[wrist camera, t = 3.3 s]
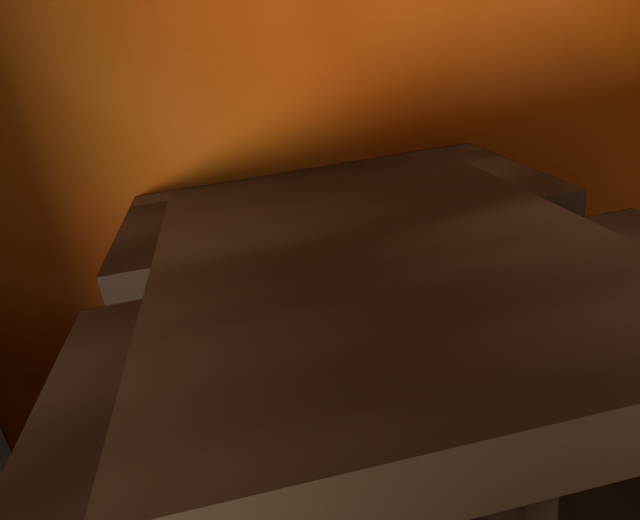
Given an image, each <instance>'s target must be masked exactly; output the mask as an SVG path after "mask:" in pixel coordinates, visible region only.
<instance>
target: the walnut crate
mask: <svg viewBox="0 0 640 520" xmlns="http://www.w3.org/2000/svg"><path fill="white" fill-rule="evenodd" d="M585 198H586V190H585V189H582V188H580V187H577V186H575V185H572V184H570V183H567V182H565V181H562V180H560V179H557V178H555V177H552V176H550V175H547V174H545V173H542V172H540V171H537V170H535V169H532V168H530V167H527V166H525V165H522V164H519V163H517V162H514V161H512V160H509V159H507V158H504V157H502V156H499V155H497V154H494V153H492V152H489V151H487V150H484V149H482V148H479V147H477V146H474V145H472V144H469V143H465V144H458V145H452V146H446V147H440V148H434V149H427V150H421V151H415V152H409V153H403V154H396V155H390V156H384V157H378V158H372V159H365V160H359V161H353V162H347V163H341V164H334V165H328V166H322V167H316V168H310V169H303V170H297V171H291V172H285V173H279V174H272V175H266V176H260V177H254V178H248V179H242V180H235V181H229V182H223V183H217V184H211V185H204V186H198V187H192V188H186V189H180V190H173V191H167V192H161V193H155V194H149V195H142V196H136V197H135V198H134V200H133V202H132V204H131V206H130V208H129V210H128V212H127V215H126V217H125V219H124V221H123V223H122V225H121V227H120V229H119V231H118V233H117V235H116V237H115V239H114V241H113V243H112V246H111V248H110V250H109V252H108V254H107V256H106V258H105V260H104V262H103V264H102V266H101V268H100V270H99V272H98V275H97V277H96V279H97V282H98V285H99V289H100V292H101V295H102V298H103V301H104V304H105V306H102V307H96V308H91V309H86V310H80V312H79V314H78V316H77V318H76V320H75V322H74V324H73V326H72V328H71V330H70V333H69V335H68V337H67V339H66V341H65V343H64V345H63V347H62V349H61V351H60V353H59V355H58V357H57V359H56V362H55V364H54V366H53V368H52V370H51V372H50V374H49V376H48V378H47V380H46V382H45V384H44V386H43V388H42V391H41V393H40V395H39V397H38V399H37V401H36V403H35V405H34V407H33V409H32V411H31V413H30V415H29V417H28V419H27V422H26V424H25V426H24V428H23V430H22V432H21V434H20V436H19V438H18V440H17V442H16V444H15V446H14V448H13V451H12V453H11V455H10V457H9V459H8V461H7V463H6V465H5V467H4V469H3V471H2V473H1V475H0V520H640V211H637V210H635V209H632V208H630V209H625V210H619V211H614V212H609V213H603V214H598V215H592V216H587V217H584V210H585Z"/></svg>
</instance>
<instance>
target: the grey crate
mask: <svg viewBox="0 0 640 520" xmlns="http://www.w3.org/2000/svg"><path fill="white" fill-rule="evenodd" d="M11 453H12V452H11V450H10V448H9V446H8V443H7V441H6V439H5V437H4V434H3V432H2V430H1V428H0V475H1V473H2V471H3V469H4V467H5V465H6V463H7V461H8V459H9V457H10V455H11Z"/></svg>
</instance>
